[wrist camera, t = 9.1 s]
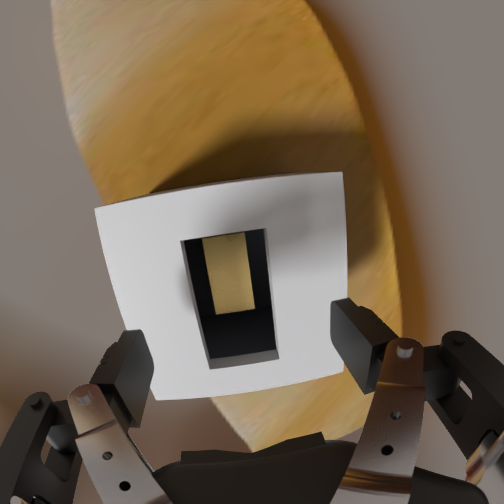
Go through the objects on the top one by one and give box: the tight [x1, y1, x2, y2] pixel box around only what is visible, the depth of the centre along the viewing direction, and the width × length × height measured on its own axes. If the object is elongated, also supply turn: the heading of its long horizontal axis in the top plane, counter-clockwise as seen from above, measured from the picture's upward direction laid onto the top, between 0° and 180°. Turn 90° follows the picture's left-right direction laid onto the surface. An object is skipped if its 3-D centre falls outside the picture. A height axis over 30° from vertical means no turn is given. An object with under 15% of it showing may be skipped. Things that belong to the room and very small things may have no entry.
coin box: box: [95, 172, 347, 400], centre depth 18 cm, size 12×12×10 cm
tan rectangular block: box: [202, 231, 255, 315], centre depth 20 cm, size 5×2×6 cm, turn 7°
